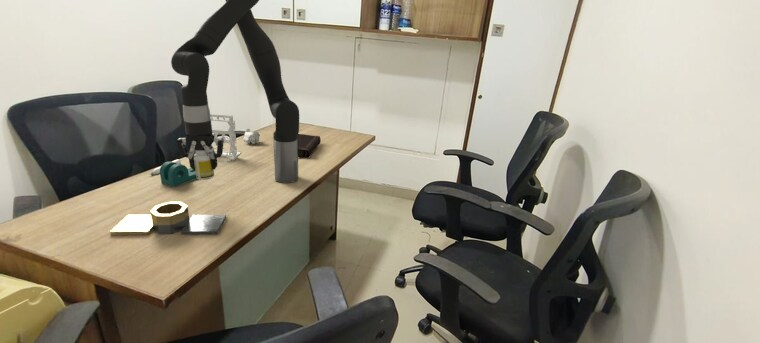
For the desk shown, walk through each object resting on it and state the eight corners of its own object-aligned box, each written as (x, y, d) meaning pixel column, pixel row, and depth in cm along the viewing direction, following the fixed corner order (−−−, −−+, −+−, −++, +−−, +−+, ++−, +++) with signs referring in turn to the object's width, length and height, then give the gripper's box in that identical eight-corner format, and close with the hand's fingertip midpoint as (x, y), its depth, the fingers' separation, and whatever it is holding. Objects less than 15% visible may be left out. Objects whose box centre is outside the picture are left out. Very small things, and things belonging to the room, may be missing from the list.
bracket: (173, 187, 134) (170, 168, 131) (161, 183, 136) (158, 164, 133) (213, 172, 149) (211, 155, 146) (201, 169, 152) (199, 151, 149)
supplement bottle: (217, 175, 120) (214, 148, 117) (205, 181, 116) (202, 153, 112) (205, 172, 122) (201, 145, 118) (192, 178, 117) (188, 150, 113)
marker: (149, 178, 141) (178, 164, 156) (153, 176, 140) (182, 163, 155) (146, 172, 141) (175, 159, 155) (149, 171, 140) (178, 157, 154)
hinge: (226, 218, 116) (224, 201, 113) (217, 234, 107) (215, 216, 104) (128, 217, 111) (125, 200, 109) (110, 235, 102) (106, 216, 100)
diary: (320, 144, 196) (321, 135, 195) (309, 159, 173) (309, 149, 171) (287, 141, 197) (287, 132, 195) (272, 155, 174) (271, 146, 172)
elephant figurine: (239, 143, 186) (238, 130, 184) (254, 139, 194) (253, 127, 191) (248, 146, 182) (247, 133, 180) (263, 143, 190) (263, 130, 187)
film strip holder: (243, 152, 174) (240, 112, 166) (231, 162, 161) (228, 119, 154) (214, 150, 174) (210, 109, 167) (200, 159, 161) (194, 116, 154)
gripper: (224, 116, 116) (229, 164, 122) (177, 115, 114) (185, 164, 120) (218, 122, 109) (224, 173, 115) (167, 121, 107) (176, 173, 113)
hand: (204, 168), depth 118 cm, fingers closed on supplement bottle, 5 cm apart
